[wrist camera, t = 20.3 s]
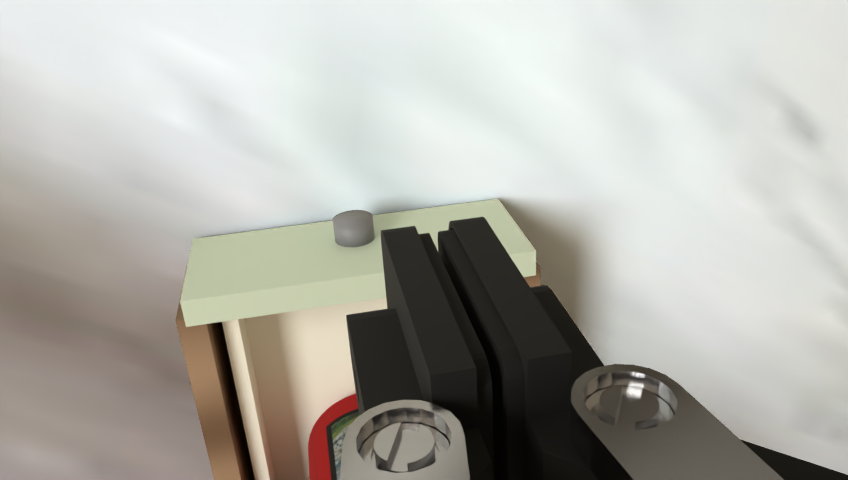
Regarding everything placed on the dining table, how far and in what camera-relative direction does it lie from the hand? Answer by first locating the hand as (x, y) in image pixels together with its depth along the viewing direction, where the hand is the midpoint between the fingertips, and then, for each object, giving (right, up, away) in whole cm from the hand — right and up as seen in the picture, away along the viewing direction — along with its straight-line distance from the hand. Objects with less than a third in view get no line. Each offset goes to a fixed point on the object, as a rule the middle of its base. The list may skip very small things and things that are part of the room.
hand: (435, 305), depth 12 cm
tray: (-3, -5, +28) cm, 28 cm away
